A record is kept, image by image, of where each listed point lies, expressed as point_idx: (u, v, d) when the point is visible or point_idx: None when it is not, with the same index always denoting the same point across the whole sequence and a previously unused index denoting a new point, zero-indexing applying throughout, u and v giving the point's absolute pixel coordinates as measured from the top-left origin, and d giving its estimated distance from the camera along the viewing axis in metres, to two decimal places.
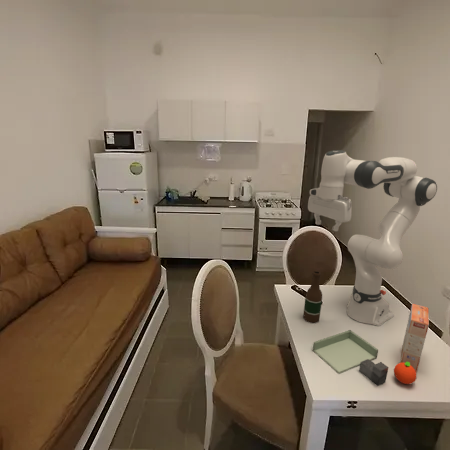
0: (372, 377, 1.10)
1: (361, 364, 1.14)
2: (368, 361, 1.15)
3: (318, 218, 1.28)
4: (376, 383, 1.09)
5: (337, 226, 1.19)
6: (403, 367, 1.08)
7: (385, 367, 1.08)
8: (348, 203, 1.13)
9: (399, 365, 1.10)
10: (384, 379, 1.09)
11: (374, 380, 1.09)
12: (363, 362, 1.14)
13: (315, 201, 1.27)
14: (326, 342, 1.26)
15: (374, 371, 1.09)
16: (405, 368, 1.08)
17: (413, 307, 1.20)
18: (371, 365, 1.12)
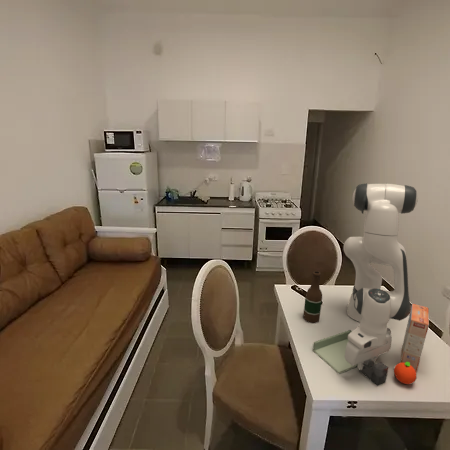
0: (372, 377, 1.10)
1: None
2: (368, 361, 1.15)
3: None
4: (376, 383, 1.09)
5: None
6: (403, 367, 1.08)
7: (385, 367, 1.08)
8: (389, 332, 1.15)
9: (399, 365, 1.10)
10: (384, 379, 1.09)
11: (374, 380, 1.09)
12: None
13: (361, 351, 1.08)
14: (326, 342, 1.26)
15: (375, 371, 1.09)
16: (405, 368, 1.08)
17: (413, 307, 1.20)
18: (371, 365, 1.12)
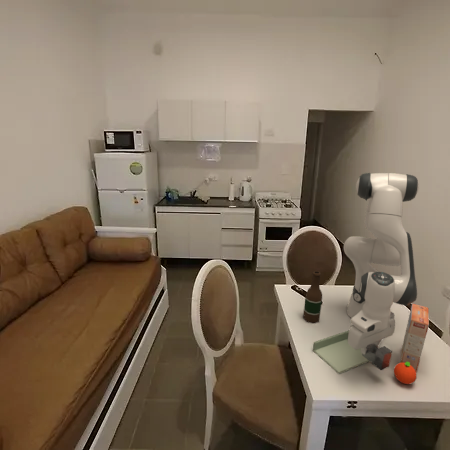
0: (375, 361, 1.09)
1: None
2: (372, 345, 1.13)
3: None
4: (379, 367, 1.07)
5: None
6: (403, 367, 1.08)
7: (389, 351, 1.07)
8: (393, 316, 1.14)
9: (399, 365, 1.10)
10: (387, 363, 1.08)
11: (377, 364, 1.08)
12: None
13: (364, 335, 1.07)
14: (326, 342, 1.26)
15: (378, 355, 1.07)
16: (405, 368, 1.08)
17: (413, 307, 1.20)
18: (374, 349, 1.11)
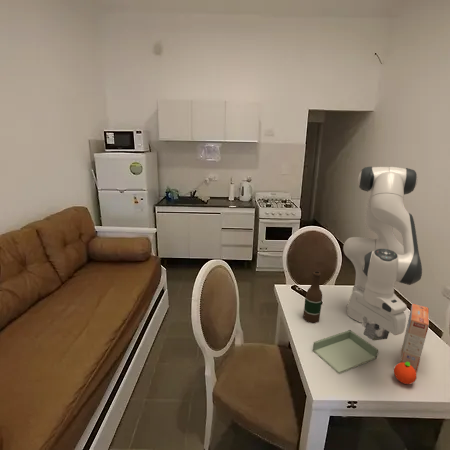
0: (384, 335, 1.11)
1: None
2: (370, 325, 1.11)
3: (380, 330, 1.07)
4: (386, 337, 1.12)
5: None
6: (403, 367, 1.08)
7: None
8: None
9: (399, 365, 1.10)
10: None
11: (385, 336, 1.12)
12: (375, 328, 1.09)
13: None
14: (326, 342, 1.26)
15: None
16: (405, 368, 1.08)
17: (413, 307, 1.20)
18: (376, 326, 1.12)
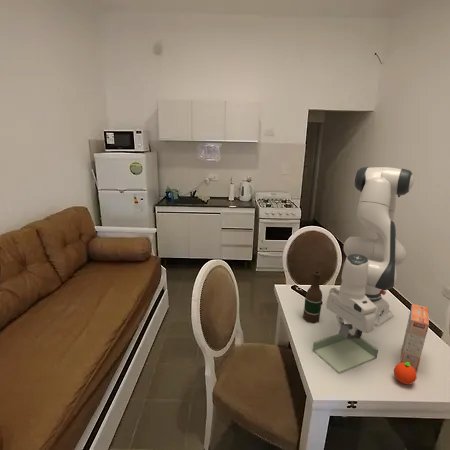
0: (357, 334, 1.20)
1: None
2: (345, 325, 1.21)
3: None
4: (359, 337, 1.21)
5: None
6: (403, 367, 1.08)
7: None
8: None
9: (399, 365, 1.10)
10: None
11: (358, 335, 1.21)
12: (349, 328, 1.18)
13: None
14: (326, 342, 1.26)
15: None
16: (405, 368, 1.08)
17: (413, 307, 1.20)
18: (350, 326, 1.21)
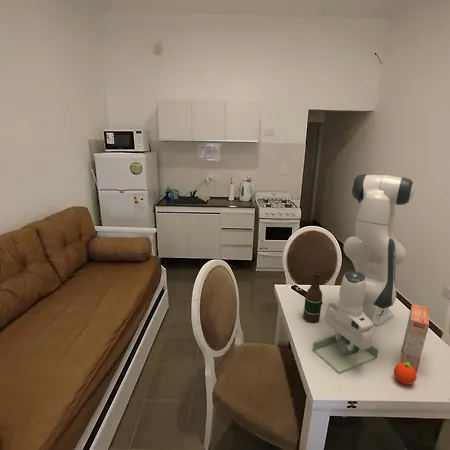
0: (354, 349, 1.22)
1: None
2: (342, 340, 1.22)
3: None
4: (357, 351, 1.23)
5: None
6: (403, 367, 1.08)
7: None
8: None
9: (399, 365, 1.10)
10: None
11: (356, 350, 1.23)
12: (346, 343, 1.20)
13: None
14: (326, 342, 1.26)
15: None
16: (405, 368, 1.08)
17: (413, 307, 1.20)
18: (347, 341, 1.22)
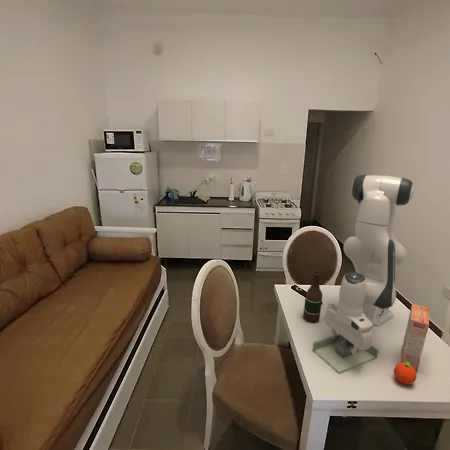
0: None
1: (345, 350, 1.20)
2: (339, 344, 1.22)
3: (354, 348, 1.17)
4: None
5: None
6: (403, 367, 1.08)
7: None
8: None
9: (399, 365, 1.10)
10: None
11: None
12: (343, 347, 1.20)
13: None
14: (326, 342, 1.26)
15: None
16: (405, 368, 1.08)
17: (413, 307, 1.20)
18: (345, 344, 1.22)
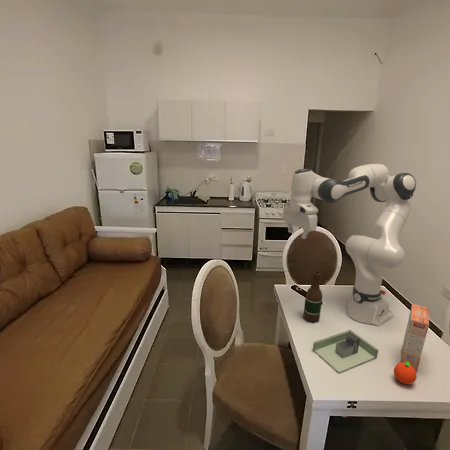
0: (353, 350, 1.22)
1: (345, 350, 1.20)
2: (339, 344, 1.22)
3: None
4: (356, 351, 1.23)
5: None
6: (403, 367, 1.08)
7: (353, 334, 1.24)
8: None
9: (399, 365, 1.10)
10: None
11: (355, 351, 1.23)
12: (343, 347, 1.20)
13: None
14: (326, 342, 1.26)
15: (355, 343, 1.22)
16: (405, 368, 1.08)
17: (413, 307, 1.20)
18: (345, 344, 1.22)
